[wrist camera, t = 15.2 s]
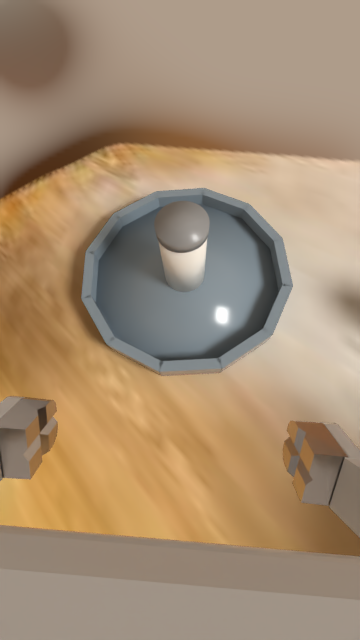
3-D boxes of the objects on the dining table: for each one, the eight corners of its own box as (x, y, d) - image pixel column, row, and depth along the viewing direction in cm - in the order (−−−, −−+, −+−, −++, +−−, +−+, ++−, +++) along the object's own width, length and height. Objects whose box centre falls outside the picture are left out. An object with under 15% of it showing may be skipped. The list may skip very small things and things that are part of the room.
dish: (53, 319, 30) (42, 310, 28) (150, 184, 36) (147, 167, 34) (234, 414, 26) (239, 414, 23) (308, 241, 32) (317, 227, 30)
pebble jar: (157, 282, 30) (144, 233, 22) (176, 251, 31) (170, 193, 23) (194, 299, 29) (194, 253, 21) (211, 266, 30) (218, 211, 22)
